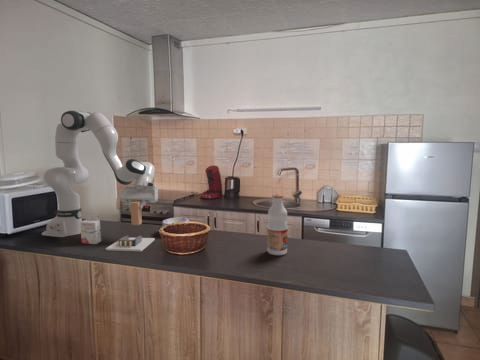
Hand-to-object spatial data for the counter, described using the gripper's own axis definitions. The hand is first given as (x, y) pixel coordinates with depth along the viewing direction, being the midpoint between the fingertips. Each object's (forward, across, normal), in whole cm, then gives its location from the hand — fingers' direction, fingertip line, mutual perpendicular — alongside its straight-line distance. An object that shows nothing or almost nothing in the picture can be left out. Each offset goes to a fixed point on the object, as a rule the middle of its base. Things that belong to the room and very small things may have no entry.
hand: (135, 208), depth 165 cm
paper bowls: (+2, +17, +24) cm, 29 cm away
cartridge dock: (+17, 0, +8) cm, 19 cm away
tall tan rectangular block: (+6, 0, +7) cm, 9 cm away
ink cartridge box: (+16, -23, +10) cm, 30 cm away
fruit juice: (+21, +75, +6) cm, 78 cm away
